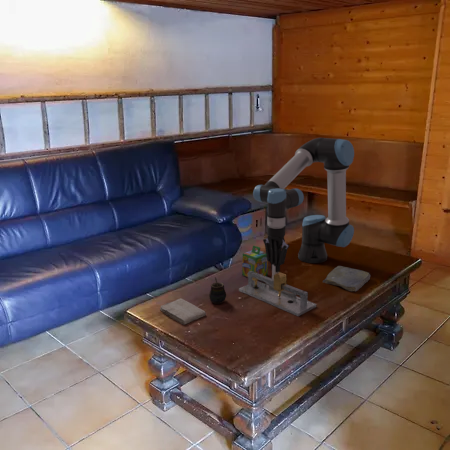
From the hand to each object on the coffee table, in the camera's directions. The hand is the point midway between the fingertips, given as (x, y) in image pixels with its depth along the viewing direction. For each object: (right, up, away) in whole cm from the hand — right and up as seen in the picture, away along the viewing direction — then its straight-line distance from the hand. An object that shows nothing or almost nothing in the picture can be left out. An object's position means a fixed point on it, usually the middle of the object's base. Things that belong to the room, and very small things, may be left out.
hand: (275, 278), depth 203 cm
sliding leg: (+2, -8, +1) cm, 8 cm away
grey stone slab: (+35, -4, +19) cm, 40 cm away
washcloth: (-39, -14, -8) cm, 43 cm away
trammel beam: (+1, -9, +2) cm, 10 cm away
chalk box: (-7, -2, +27) cm, 28 cm away
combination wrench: (+3, -8, +5) cm, 10 cm away
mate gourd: (-25, -10, +1) cm, 27 cm away
